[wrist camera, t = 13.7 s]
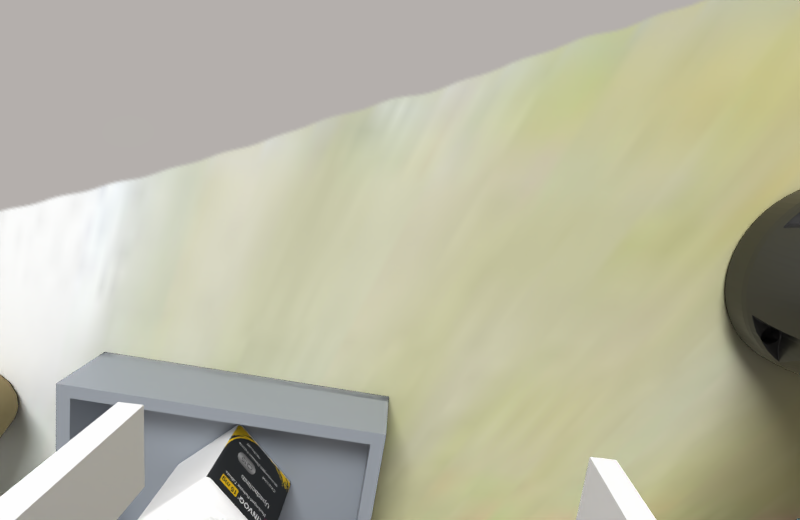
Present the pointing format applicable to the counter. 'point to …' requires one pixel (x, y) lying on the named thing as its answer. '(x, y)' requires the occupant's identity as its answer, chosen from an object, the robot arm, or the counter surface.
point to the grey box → (239, 405)
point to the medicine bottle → (222, 484)
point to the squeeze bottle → (7, 404)
